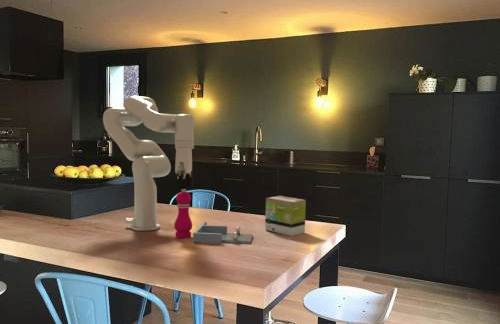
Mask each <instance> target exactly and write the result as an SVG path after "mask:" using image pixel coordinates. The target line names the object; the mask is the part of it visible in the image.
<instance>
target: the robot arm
mask: <svg viewBox="0 0 500 324" xmlns="http://www.w3.org/2000/svg"><path fill="white" fill-rule="evenodd" d="M102 123H103V127H104V129H105V131H106V132H107V134H108V135H109V136H110V138H112V140H113V141H114V142H115V143H116V144H117V146H118V147H119V148H120V151H121V152H122V153H123V155H124V156H125V157H126V159H128V160H129V161H132V165H131V170H132V177H133V183H134V185H133V186H134V190H133V191H134V200H133V201H134V206H133V207H134V211H133V212H134V214H133V215H134V217H132V218H130V217H126V218H125V220H124V222H125V223H126V224H131V225H130V229H131V230H132V229H133V230H132V231H138V232H146V231H147V232H148V231H156V230H158V229H160V228H161V224H160V223H157V217H158V215H157V213H158V212H157V211H158V210H157V206H158V205H157V204H158V201H157V200H158V199H157V198H158V196H157V194H158V192H157V191H158V190H157V189H158V187H157V185H156V182H155V180H154V179H153V178H161V177H163V178H164V177H166V176H167V175H169V173H171V169H172V165H171V162H170V160H169V158H168V157H167V155H166V154H165V152H164V151H163V150H162V148H160V145H158V143H156V142H155V141H153V140H151V139H150V140H149V139H138V137H136V136H135V133H133V132H132V131H131V130H130V129H128V128H127V127H137V126H139V125H141V124H142V123H143V125H144V127H146V128H147V129H150V130H152V131H154V132H157V133H165V134H166V133H168V134H169V133H171V134H172V133H173V134H174V148H175V151H176V152H175V163H174V172H175V174H176V175H177V190H182V189H186V190H187V187H192V171H193V155H192V154H193V153H192V151H193V150H194V149H195V127H194V126H195V118H194V116H193V115H192V114H187V113H180V114H173V113H172V114H171V113H159V108H158V106H157V104H156V102H155V100H154V99H153V98H151V97H148V96H141V95H140V96H139V95H130V96H128V97H126V98H125V99H124V101H123V107H121V106H120V107H119V106H116V107H115V106H114V107H109V108H107V109H106V110H104V112H103V115H102Z"/></svg>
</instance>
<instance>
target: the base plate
mask: <svg viewBox="0 0 500 324" xmlns="http://www.w3.org/2000/svg"><path fill="white" fill-rule="evenodd" d="M235 229H236V231H233V232H232V233H231V232H229V233H228V232H227V233H224V234H223V235H222V243H223V244H244V245H245V244H246V245H248V244H251V243H252V240H253V237H254V234H253V233H251V234H250V233H241V226H236V227H235ZM222 243H221V244H222Z"/></svg>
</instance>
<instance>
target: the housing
mask: <svg viewBox="0 0 500 324" xmlns="http://www.w3.org/2000/svg"><path fill="white" fill-rule="evenodd" d="M207 222H208V221H203V222H202V223H201V225H199V227H197V228H196V230H194V232H193V233H192V234H193V235H192V242H193V243H206V244H207V243H210V244H211V243H212V244H222V236H223V234H224V233H228V226H227V225H215V224H214V225H212V224H211V225H210V224H209V225H208V224H207Z"/></svg>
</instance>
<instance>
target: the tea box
mask: <svg viewBox="0 0 500 324" xmlns="http://www.w3.org/2000/svg"><path fill="white" fill-rule="evenodd" d="M306 202H307V201H306V199H302V198H297V197H289V196H283V195H277V196H271V197H266V198H265V217H264V219H265V222H264V223H265V225H264V226H265V228H264V229H265V231H270V232H274V233H279V234H281V235H286V236H290V237H292V236H293V237H294V236H297V235H300V234H304V233H306V206H307V205H306Z"/></svg>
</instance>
